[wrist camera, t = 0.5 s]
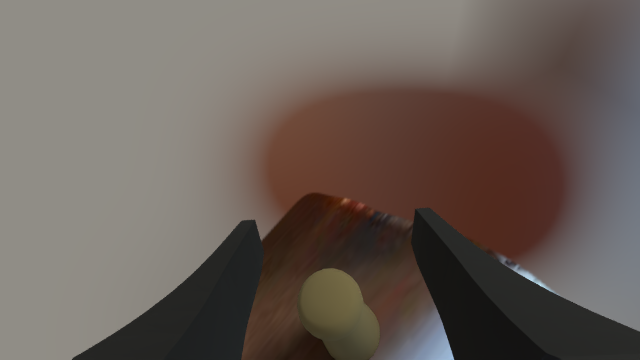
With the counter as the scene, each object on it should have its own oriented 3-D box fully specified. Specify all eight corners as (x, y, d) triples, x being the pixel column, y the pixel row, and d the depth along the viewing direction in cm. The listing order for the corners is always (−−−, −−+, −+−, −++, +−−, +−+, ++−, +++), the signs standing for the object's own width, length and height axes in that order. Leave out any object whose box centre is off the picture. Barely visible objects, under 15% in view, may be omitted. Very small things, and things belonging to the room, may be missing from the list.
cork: (317, 359, 27) (276, 333, 19) (328, 297, 30) (297, 254, 23) (378, 372, 25) (360, 350, 17) (381, 304, 29) (368, 260, 21)
